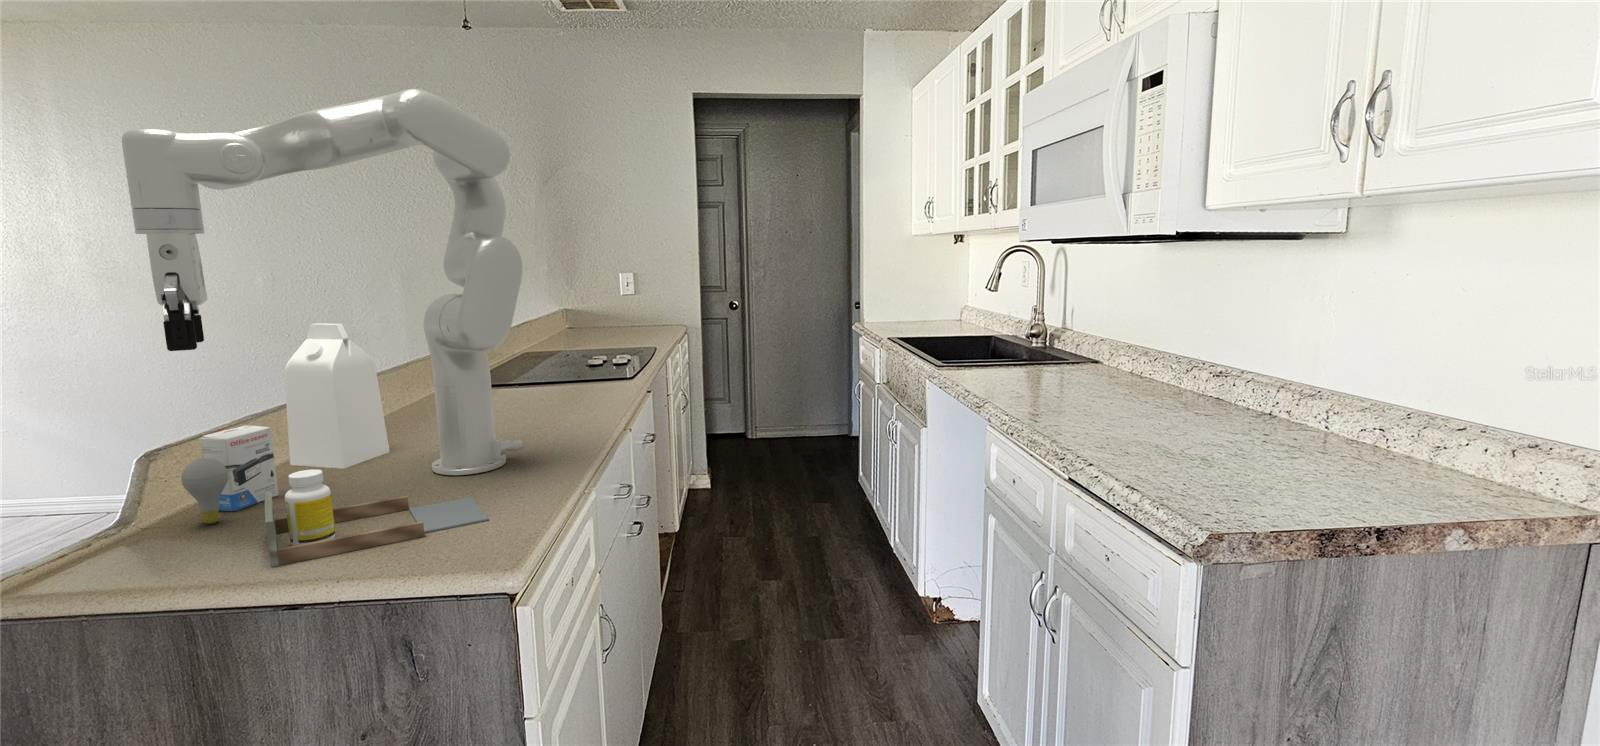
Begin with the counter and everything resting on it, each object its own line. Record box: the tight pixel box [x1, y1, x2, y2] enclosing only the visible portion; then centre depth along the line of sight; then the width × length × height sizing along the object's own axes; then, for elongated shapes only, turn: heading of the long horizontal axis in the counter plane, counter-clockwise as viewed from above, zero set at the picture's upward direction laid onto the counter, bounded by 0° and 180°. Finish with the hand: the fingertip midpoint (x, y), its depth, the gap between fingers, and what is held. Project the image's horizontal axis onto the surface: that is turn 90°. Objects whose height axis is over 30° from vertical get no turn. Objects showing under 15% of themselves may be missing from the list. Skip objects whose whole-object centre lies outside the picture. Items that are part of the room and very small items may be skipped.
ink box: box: [199, 425, 279, 512], centre depth 125 cm, size 8×5×12 cm, turn 168°
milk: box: [284, 322, 390, 469], centre depth 149 cm, size 12×12×26 cm
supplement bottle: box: [284, 468, 336, 546], centre depth 108 cm, size 5×5×10 cm
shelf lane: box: [264, 492, 426, 568], centre depth 111 cm, size 18×15×6 cm
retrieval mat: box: [408, 497, 490, 534], centre depth 119 cm, size 9×12×1 cm
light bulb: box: [181, 457, 228, 526], centre depth 116 cm, size 6×5×10 cm
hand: (186, 346), depth 111 cm, fingers open, 9 cm apart
